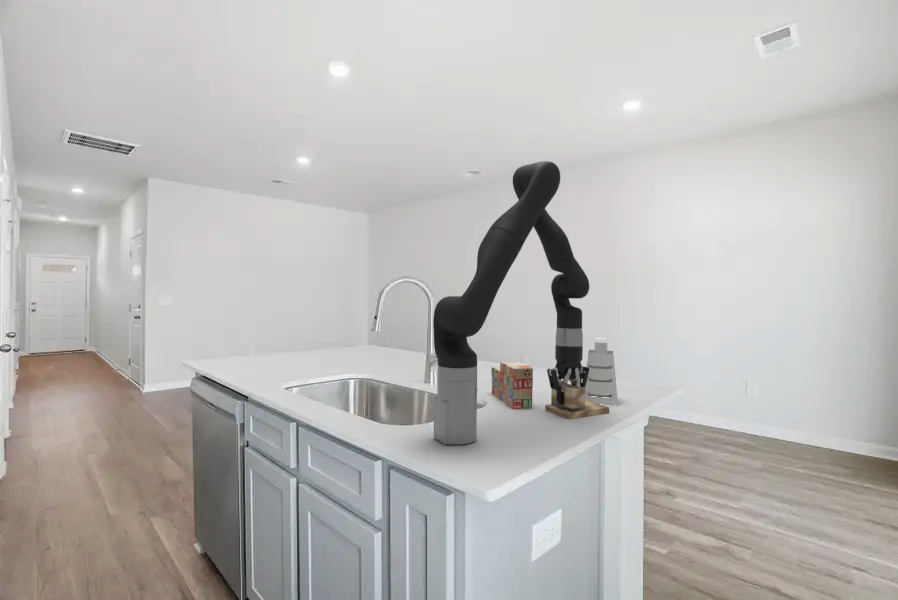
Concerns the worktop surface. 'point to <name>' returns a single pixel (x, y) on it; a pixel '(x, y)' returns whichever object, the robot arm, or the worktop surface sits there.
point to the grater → (601, 375)
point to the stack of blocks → (513, 384)
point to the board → (589, 410)
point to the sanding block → (570, 398)
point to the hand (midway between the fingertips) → (567, 403)
